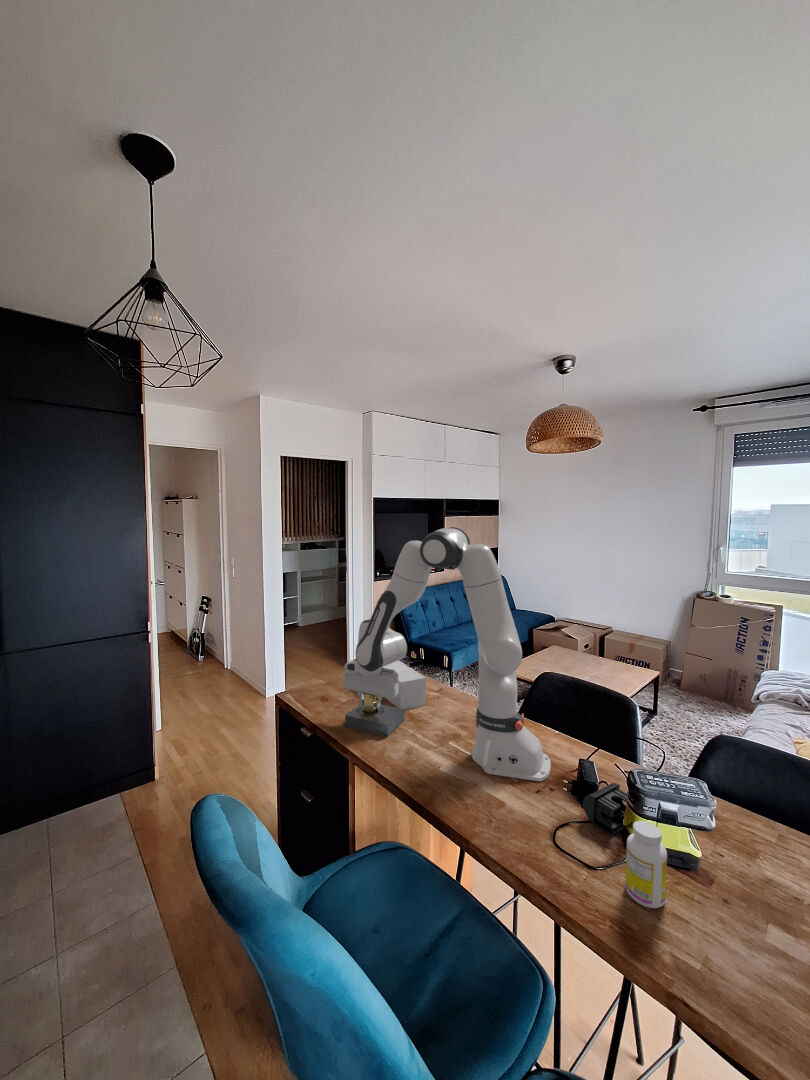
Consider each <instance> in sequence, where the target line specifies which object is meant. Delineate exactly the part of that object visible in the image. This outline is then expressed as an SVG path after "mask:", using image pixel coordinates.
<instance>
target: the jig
mask: <svg viewBox="0 0 810 1080" xmlns="http://www.w3.org/2000/svg"><path fill="white" fill-rule="evenodd" d="M405 711H406V709H401V708H397V707H396V706H391V705H386V704H381V703H380V707H379V708H376V714H373V715H368V714H364V705H362V704H360V703H359V704H358V705H356V706H355V707H354V708H353V709H352V710H350V711H349V712H348V713H346V714H345V715H344V716H345V717H344V718H345V719H344V721H345V722H344V723H345V724H344V726H345V728H349V729H352V730H357V731H361V732H365V733H369V734H373V735H376V736H381V737H385V738H389V737H390V736H391V735H392V734H393V733H394V732H395V731H396V730H397V729H398V728H399V727H400V726H401V725H402V723H404V722H405V718H406V717H405V716H406V715H405V714H406V713H405Z"/></svg>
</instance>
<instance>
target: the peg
mask: <svg viewBox="0 0 810 1080" xmlns="http://www.w3.org/2000/svg"><path fill="white" fill-rule="evenodd" d="M363 695H364V714H368V715H373V714H376V707H374V702H376V701H377V695H373V694H368V693H363Z"/></svg>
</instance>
